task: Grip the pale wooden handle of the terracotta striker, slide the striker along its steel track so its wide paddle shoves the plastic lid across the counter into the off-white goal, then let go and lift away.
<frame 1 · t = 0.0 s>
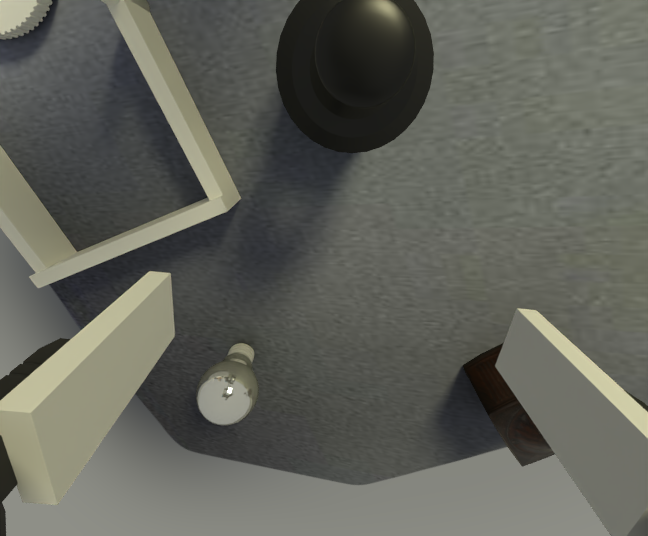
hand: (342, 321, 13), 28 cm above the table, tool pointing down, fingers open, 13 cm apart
light bulb: (244, 346, 48), on the table
french press: (340, 86, 35), on the table
goal: (101, 147, 38), on the table
pepper mill: (503, 359, 49), on the table
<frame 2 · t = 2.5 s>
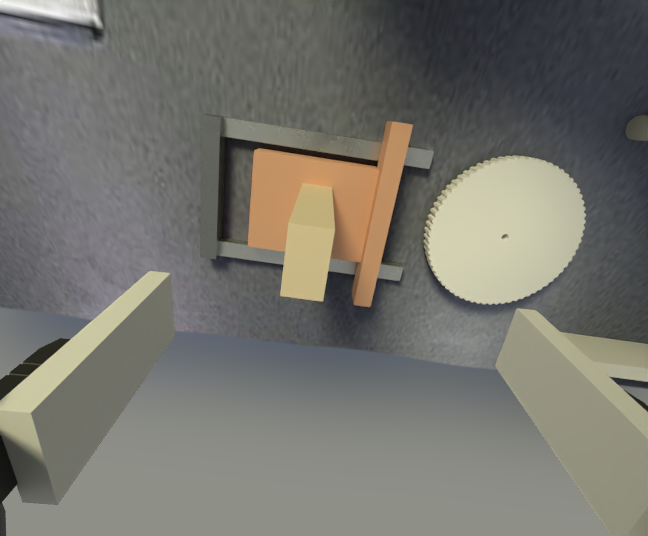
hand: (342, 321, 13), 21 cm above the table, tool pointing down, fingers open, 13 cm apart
striker: (318, 227, 26), point 8 cm above the table, slide at 0.0 cm
rail track: (288, 199, 33), on the table
plastic lid: (492, 228, 34), on the table
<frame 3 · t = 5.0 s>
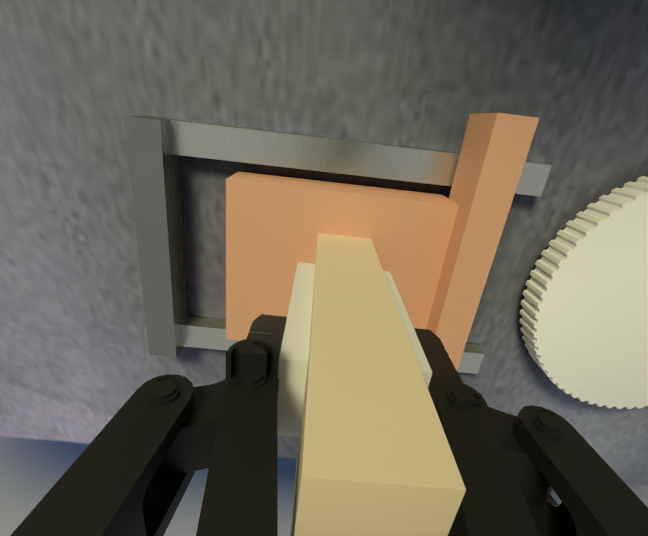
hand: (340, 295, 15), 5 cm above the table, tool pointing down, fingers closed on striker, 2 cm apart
striker: (356, 335, 13), point 8 cm above the table, slide at 0.0 cm, touching gripper
rail track: (292, 253, 20), on the table
plastic lid: (629, 284, 21), on the table
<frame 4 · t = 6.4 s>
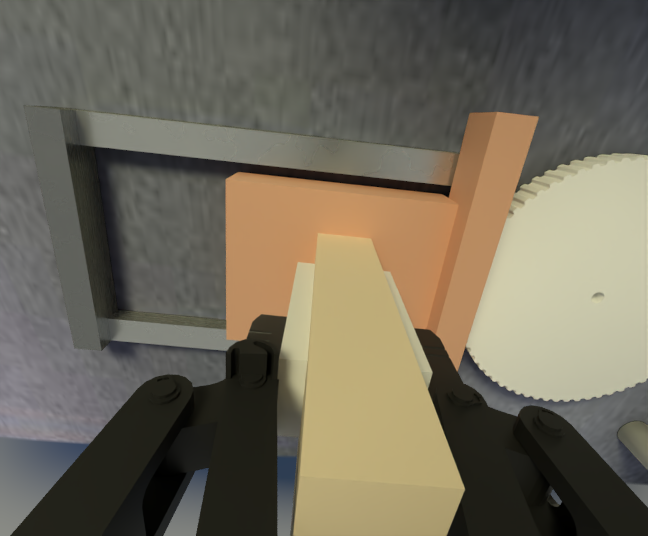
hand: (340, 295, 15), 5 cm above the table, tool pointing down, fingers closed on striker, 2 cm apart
striker: (356, 335, 13), point 8 cm above the table, slide at 4.2 cm, touching gripper
rail track: (216, 246, 19), on the table
plastic lid: (564, 275, 21), on the table
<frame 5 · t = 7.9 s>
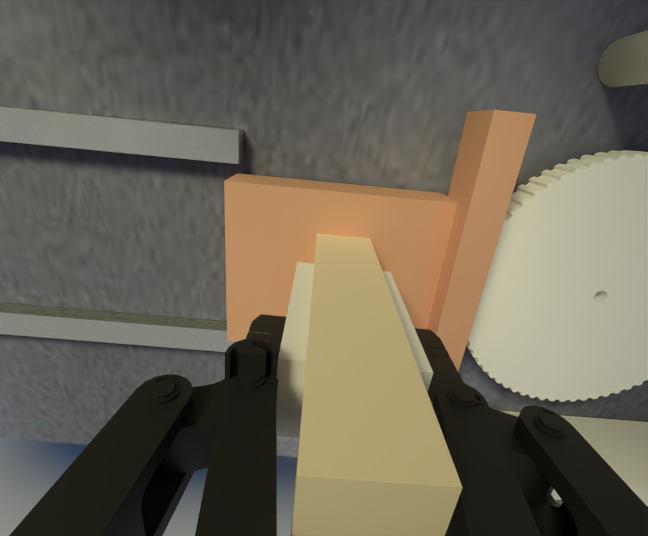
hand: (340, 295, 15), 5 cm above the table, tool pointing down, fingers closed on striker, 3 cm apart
striker: (356, 334, 13), point 7 cm above the table, slide at 14.8 cm, touching gripper
rail track: (22, 230, 19), on the table
plastic lid: (566, 274, 20), on the table
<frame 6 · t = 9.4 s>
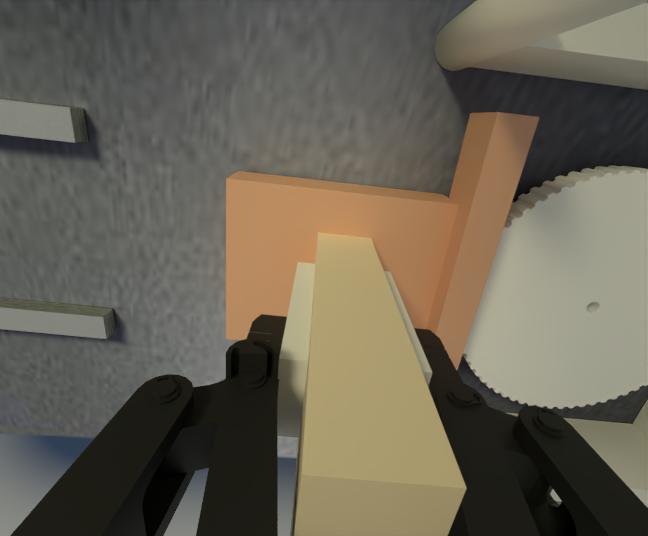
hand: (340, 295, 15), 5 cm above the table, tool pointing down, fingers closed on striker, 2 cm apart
striker: (356, 334, 13), point 7 cm above the table, slide at 22.5 cm, touching gripper
goal: (561, 282, 20), on the table
plastic lid: (560, 284, 21), on the table
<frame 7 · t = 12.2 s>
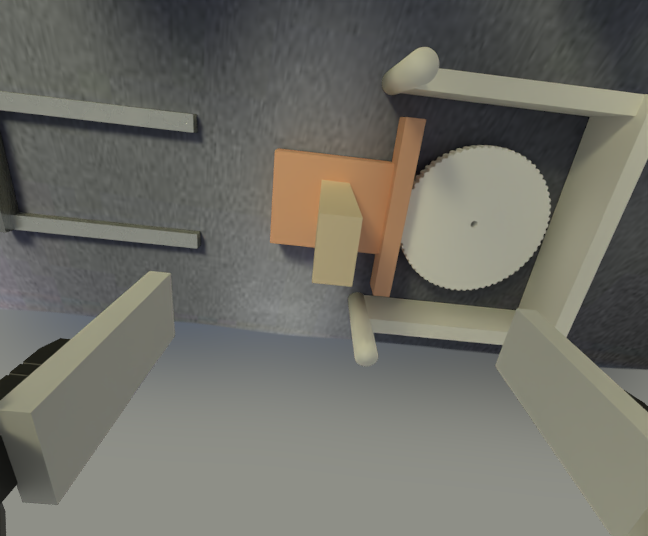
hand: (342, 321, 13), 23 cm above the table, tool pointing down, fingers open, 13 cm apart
striker: (340, 220, 27), point 7 cm above the table, slide at 22.5 cm
rail track: (72, 170, 33), on the table
goal: (461, 214, 35), on the table
plastic lid: (463, 216, 35), on the table
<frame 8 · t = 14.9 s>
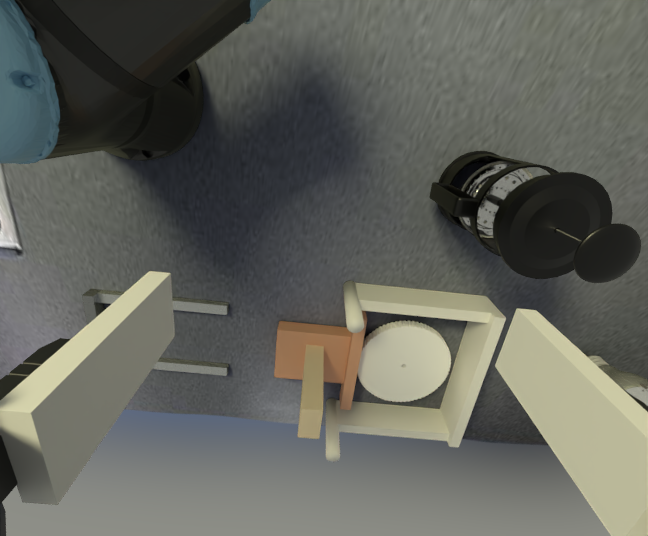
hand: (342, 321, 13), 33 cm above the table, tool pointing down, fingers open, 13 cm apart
striker: (316, 381, 46), point 8 cm above the table, slide at 22.5 cm
rail track: (148, 331, 52), on the table
light bulb: (584, 358, 54), on the table
french press: (469, 189, 44), on the table
goal: (398, 355, 54), on the table
plastic lid: (400, 354, 54), on the table
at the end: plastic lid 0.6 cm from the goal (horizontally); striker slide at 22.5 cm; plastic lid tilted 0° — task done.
